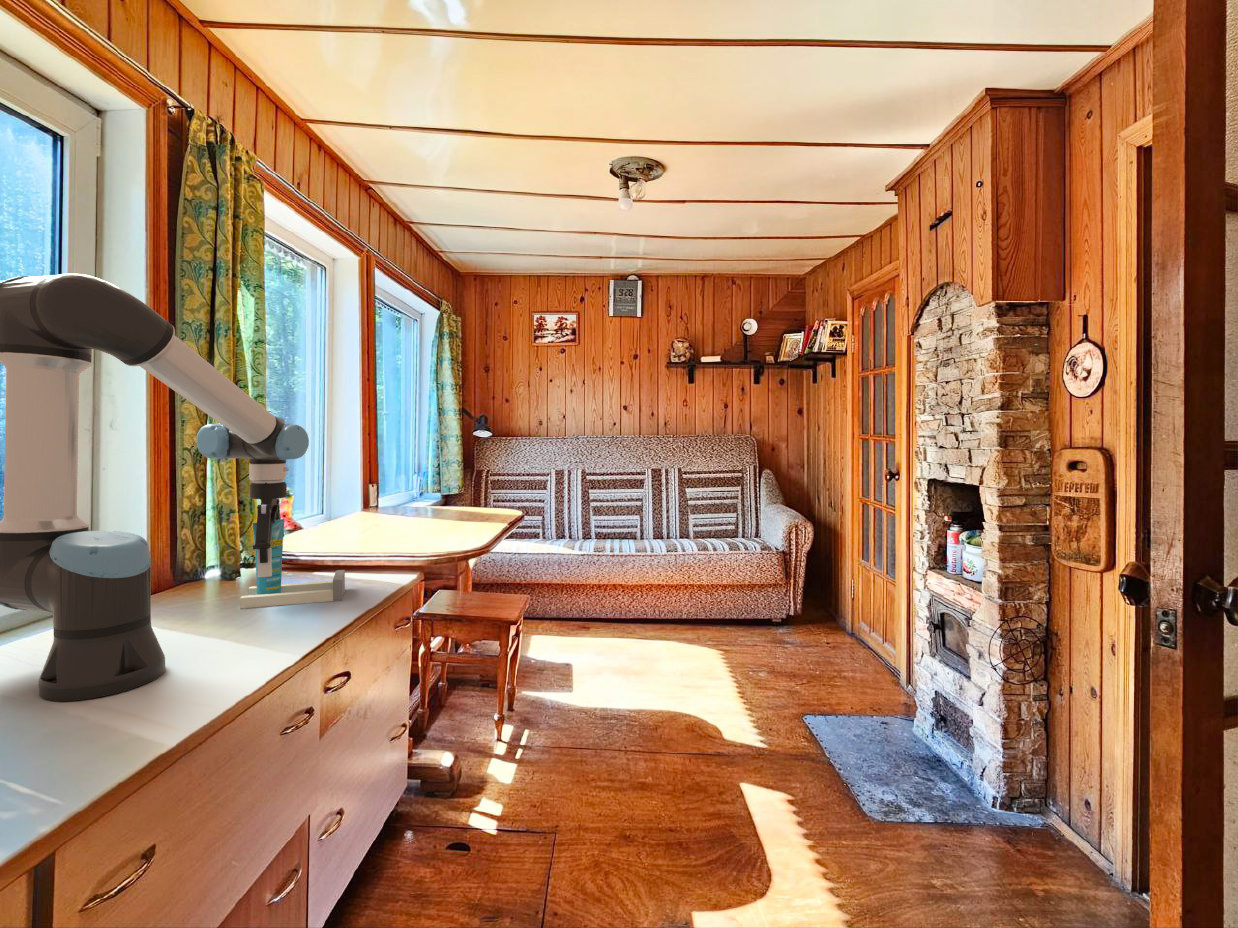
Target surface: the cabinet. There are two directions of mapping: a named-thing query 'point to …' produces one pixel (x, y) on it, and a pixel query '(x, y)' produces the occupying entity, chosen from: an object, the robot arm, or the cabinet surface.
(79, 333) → the robot arm
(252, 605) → the track
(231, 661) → the cabinet surface
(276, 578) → the tube
